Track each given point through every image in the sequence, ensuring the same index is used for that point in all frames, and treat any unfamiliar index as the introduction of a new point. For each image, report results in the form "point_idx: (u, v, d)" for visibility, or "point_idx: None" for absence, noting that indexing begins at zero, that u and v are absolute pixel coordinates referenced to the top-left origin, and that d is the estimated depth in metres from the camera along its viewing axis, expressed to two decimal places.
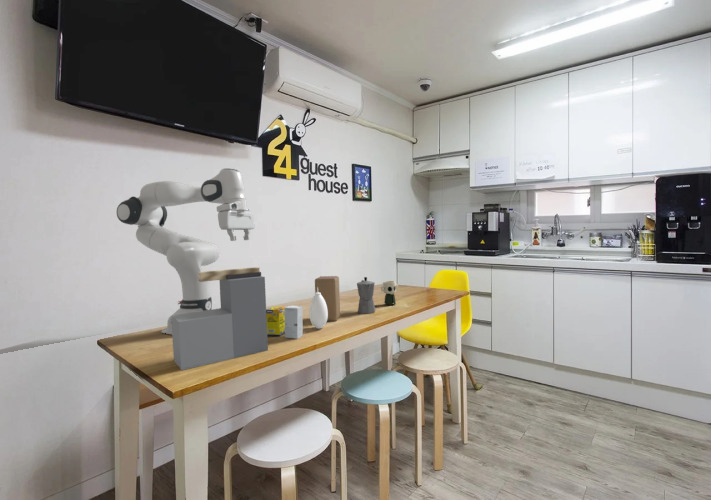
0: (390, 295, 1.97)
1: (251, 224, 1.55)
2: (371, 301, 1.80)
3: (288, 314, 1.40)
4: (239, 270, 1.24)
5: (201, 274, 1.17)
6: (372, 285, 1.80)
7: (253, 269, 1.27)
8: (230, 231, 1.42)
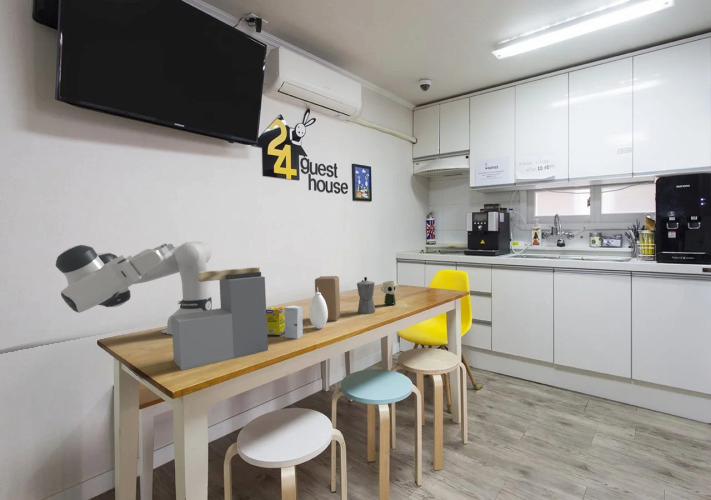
0: (390, 295, 1.97)
1: (143, 251, 1.14)
2: (371, 301, 1.80)
3: (288, 314, 1.40)
4: (239, 270, 1.24)
5: (201, 274, 1.17)
6: (372, 285, 1.80)
7: (253, 269, 1.27)
8: (161, 250, 1.05)
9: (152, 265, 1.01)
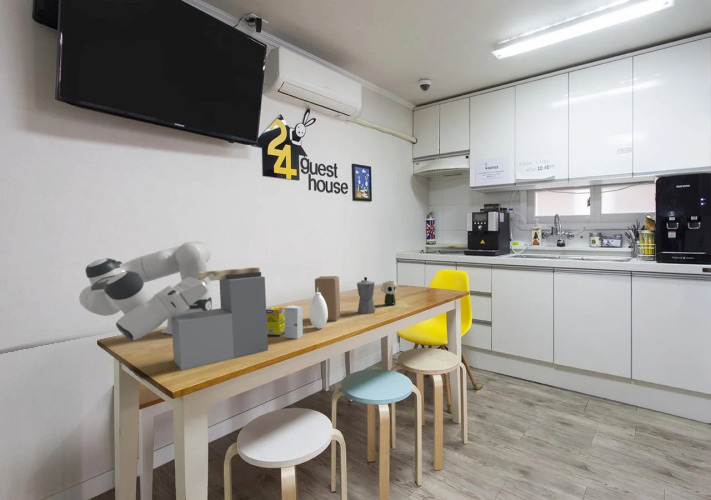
0: (390, 295, 1.97)
1: (186, 279, 1.22)
2: (371, 301, 1.80)
3: (288, 314, 1.40)
4: (239, 270, 1.24)
5: (201, 274, 1.17)
6: (372, 285, 1.80)
7: (253, 269, 1.27)
8: (204, 280, 1.15)
9: (199, 296, 1.09)
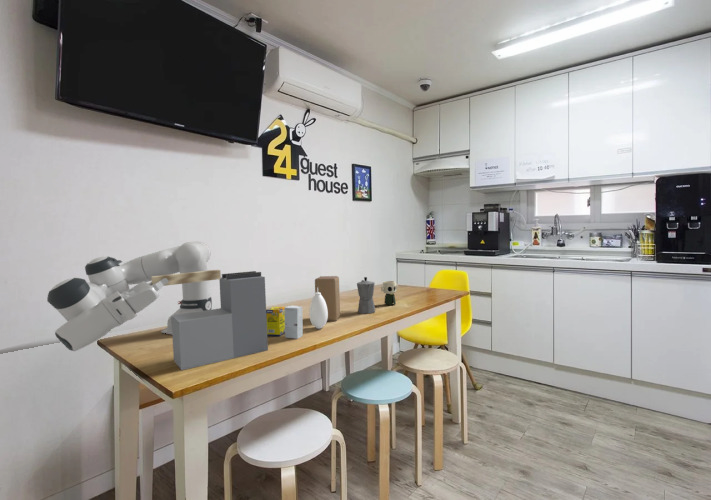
0: (390, 295, 1.97)
1: (139, 284, 1.14)
2: (371, 301, 1.80)
3: (288, 314, 1.40)
4: (197, 273, 1.16)
5: (154, 279, 1.08)
6: (372, 285, 1.80)
7: (213, 272, 1.19)
8: (155, 286, 1.06)
9: (147, 303, 1.00)
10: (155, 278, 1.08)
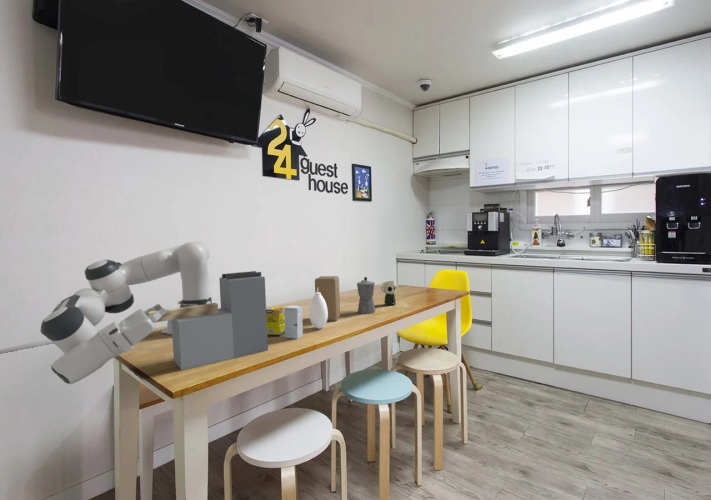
0: (390, 295, 1.97)
1: (136, 312, 1.13)
2: (371, 301, 1.80)
3: (288, 314, 1.40)
4: (194, 308, 1.16)
5: (150, 315, 1.08)
6: (372, 285, 1.80)
7: (210, 306, 1.18)
8: (153, 317, 1.04)
9: (144, 335, 1.00)
10: (152, 314, 1.08)
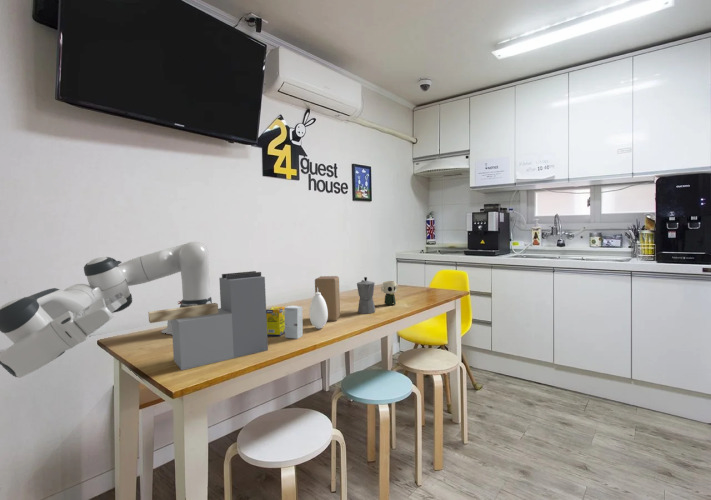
0: (390, 295, 1.97)
1: (96, 301, 1.06)
2: (371, 301, 1.80)
3: (288, 314, 1.40)
4: (194, 308, 1.16)
5: (150, 315, 1.08)
6: (372, 285, 1.80)
7: (210, 306, 1.18)
8: (111, 306, 0.97)
9: (99, 324, 0.93)
10: (152, 314, 1.08)
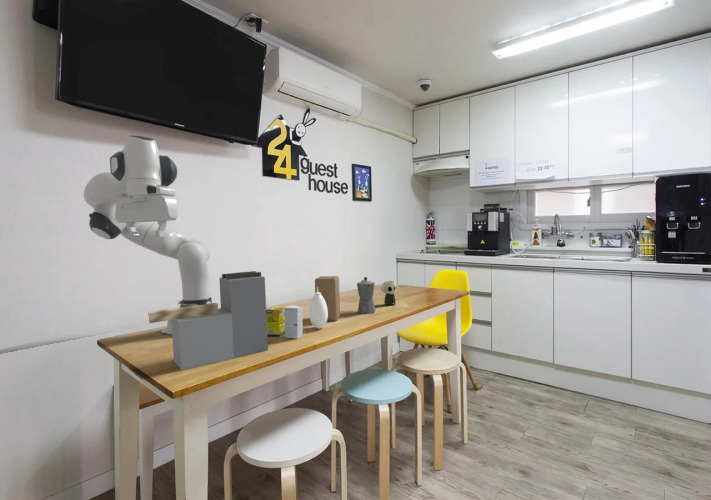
0: (390, 295, 1.97)
1: None
2: (371, 301, 1.80)
3: (288, 314, 1.40)
4: (194, 308, 1.16)
5: (150, 315, 1.08)
6: (372, 285, 1.80)
7: (210, 306, 1.18)
8: (165, 223, 1.06)
9: (168, 207, 1.03)
10: (152, 314, 1.08)
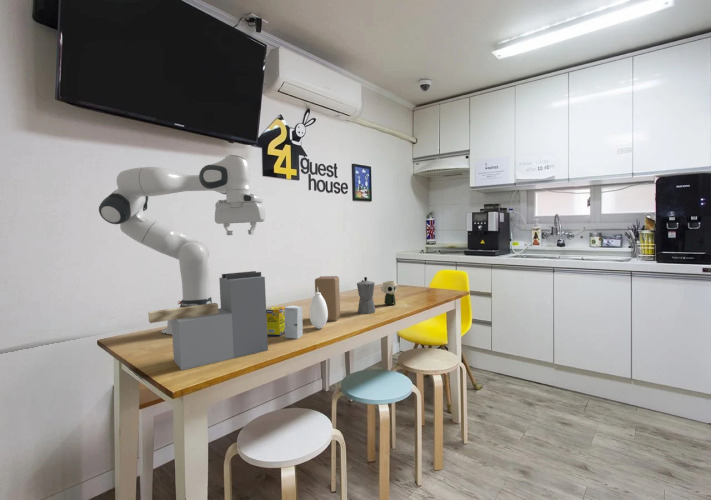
0: (390, 295, 1.97)
1: None
2: (371, 301, 1.80)
3: (288, 314, 1.40)
4: (194, 308, 1.16)
5: (150, 315, 1.08)
6: (372, 285, 1.80)
7: (210, 306, 1.18)
8: (255, 224, 1.36)
9: (260, 212, 1.33)
10: (152, 314, 1.08)
